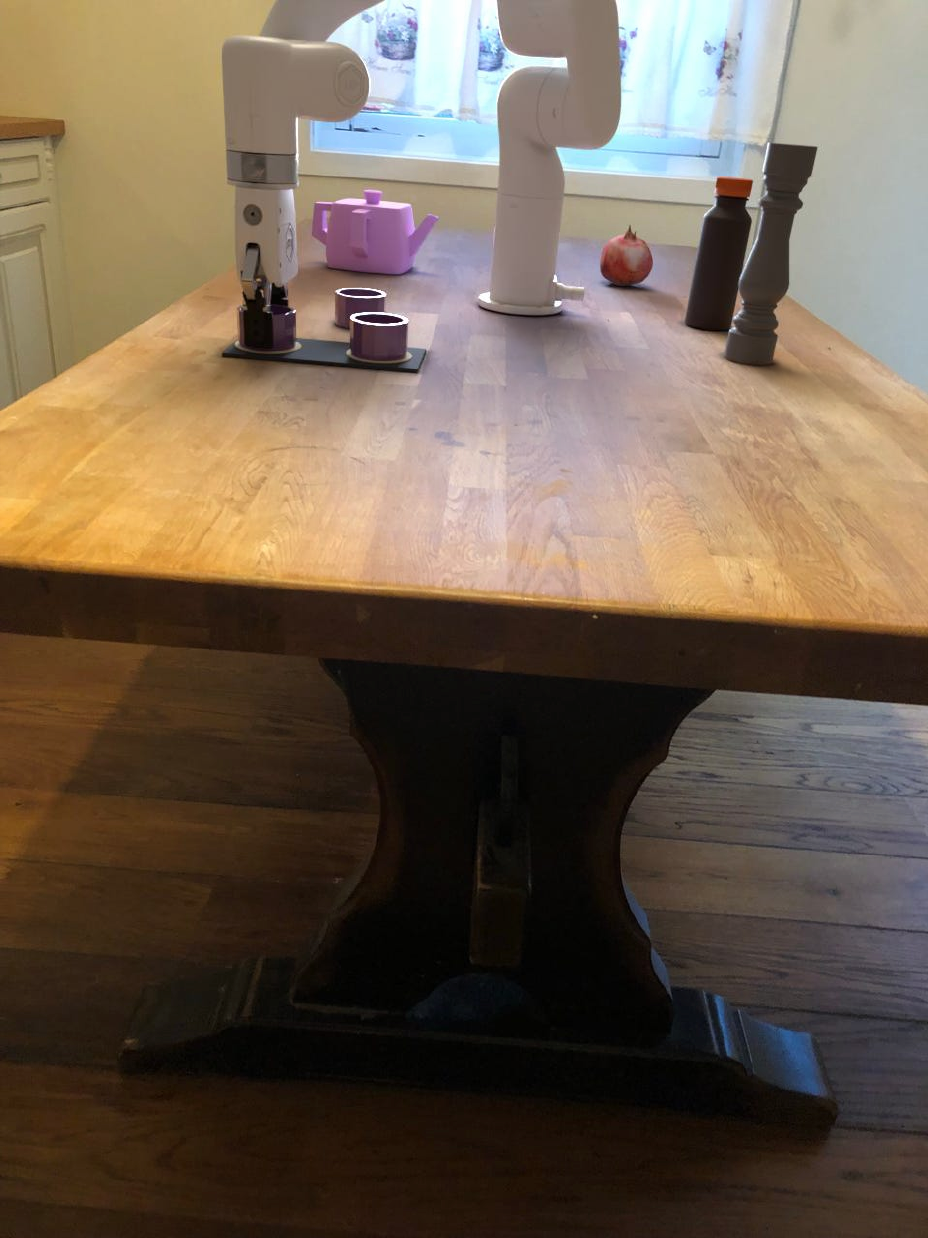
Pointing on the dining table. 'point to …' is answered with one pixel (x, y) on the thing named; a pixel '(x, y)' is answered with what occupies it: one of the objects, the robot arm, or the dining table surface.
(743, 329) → the candle holder
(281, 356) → the mat
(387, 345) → the dish
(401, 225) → the teakettle
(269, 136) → the robot arm
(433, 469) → the dining table surface
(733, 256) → the bottle
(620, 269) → the fruit
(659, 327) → the dining table surface
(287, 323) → the purple cup
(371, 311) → the dish
